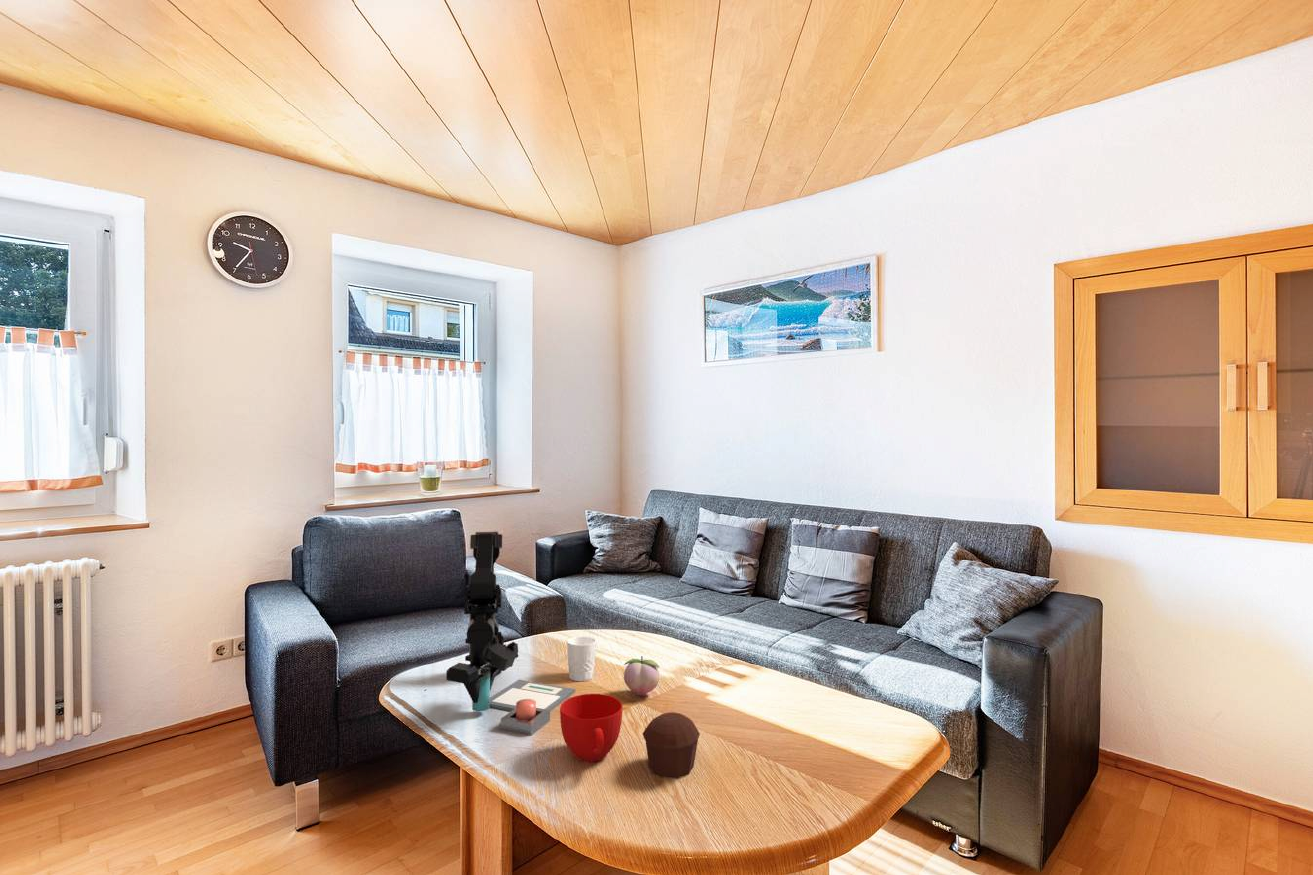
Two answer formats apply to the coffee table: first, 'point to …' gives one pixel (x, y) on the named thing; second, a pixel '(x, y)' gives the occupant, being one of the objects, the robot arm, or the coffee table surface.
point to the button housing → (525, 722)
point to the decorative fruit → (641, 675)
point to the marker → (483, 692)
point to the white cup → (581, 658)
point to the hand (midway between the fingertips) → (481, 698)
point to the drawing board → (530, 695)
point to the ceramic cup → (591, 725)
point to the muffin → (671, 745)
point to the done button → (526, 709)
